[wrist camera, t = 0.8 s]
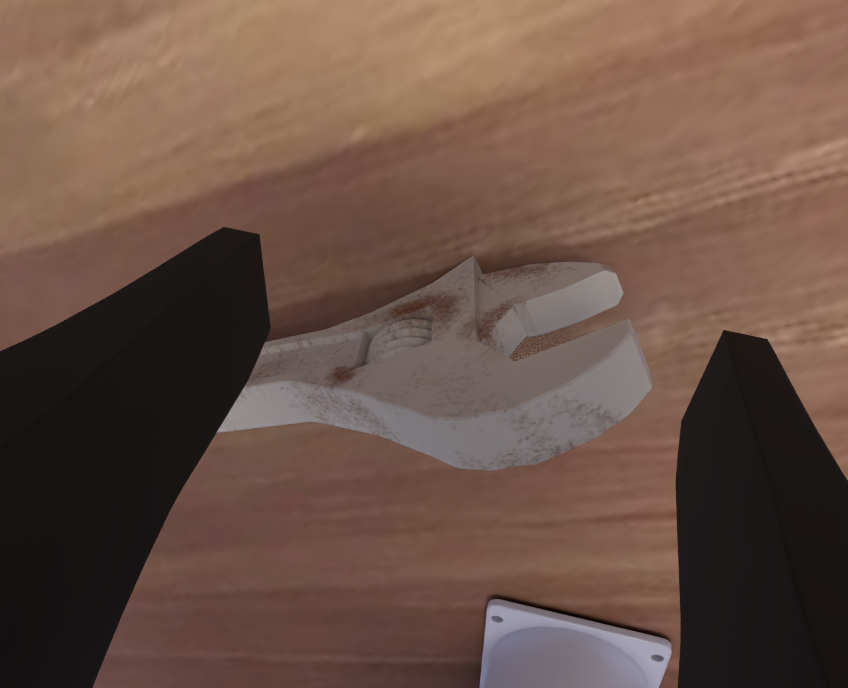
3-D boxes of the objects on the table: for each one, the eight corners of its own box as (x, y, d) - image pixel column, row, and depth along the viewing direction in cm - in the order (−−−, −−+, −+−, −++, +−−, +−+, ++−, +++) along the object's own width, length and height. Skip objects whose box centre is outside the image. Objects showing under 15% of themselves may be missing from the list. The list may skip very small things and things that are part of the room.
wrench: (49, 353, 36) (664, 205, 20) (72, 382, 37) (683, 262, 21) (-93, 472, 31) (609, 400, 14) (-60, 503, 32) (637, 467, 15)
